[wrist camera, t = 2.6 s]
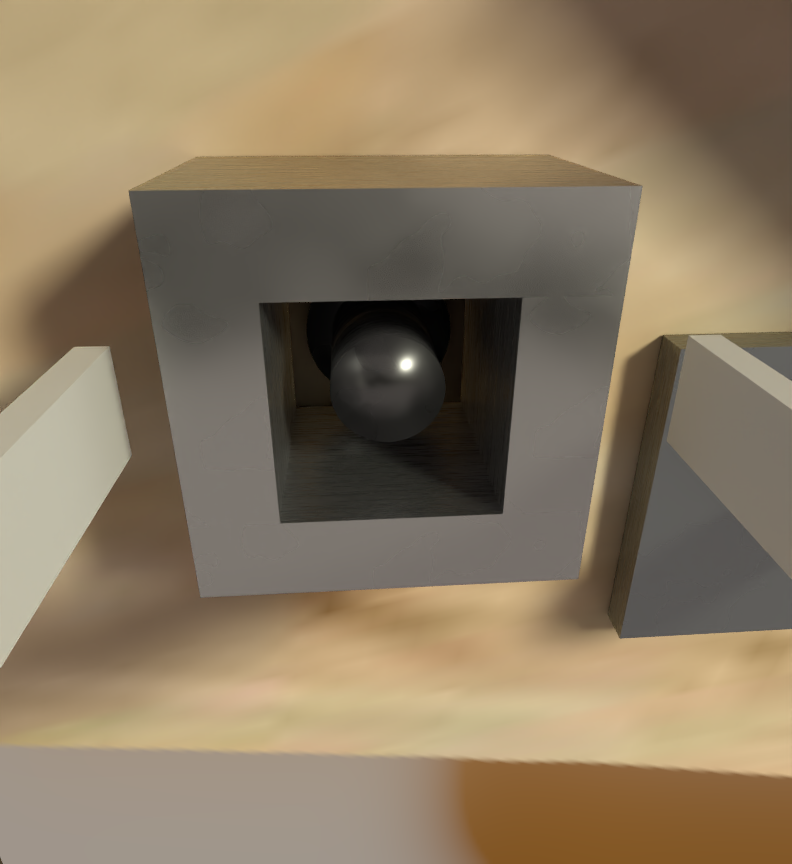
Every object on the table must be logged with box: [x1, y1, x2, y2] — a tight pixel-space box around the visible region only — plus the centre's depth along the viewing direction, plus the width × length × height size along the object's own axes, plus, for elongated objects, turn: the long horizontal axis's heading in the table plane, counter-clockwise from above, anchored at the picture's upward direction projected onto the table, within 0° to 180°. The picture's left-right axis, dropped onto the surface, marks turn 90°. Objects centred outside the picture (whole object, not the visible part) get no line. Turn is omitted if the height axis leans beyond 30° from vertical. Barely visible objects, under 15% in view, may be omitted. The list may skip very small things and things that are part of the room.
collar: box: [129, 155, 642, 598], centre depth 16 cm, size 9×9×6 cm
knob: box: [307, 299, 450, 442], centre depth 17 cm, size 4×4×5 cm
